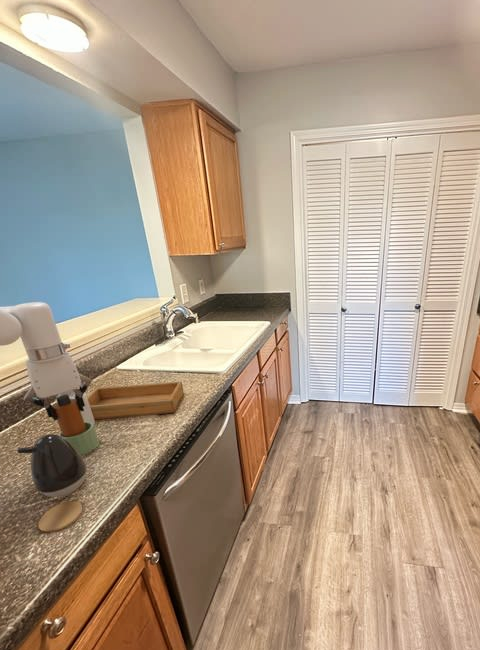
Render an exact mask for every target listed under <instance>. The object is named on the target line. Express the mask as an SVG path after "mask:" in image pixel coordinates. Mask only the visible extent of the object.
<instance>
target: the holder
mask: <svg viewBox="0 0 480 650" xmlns="http://www.w3.org/2000/svg"><path fill="white" fill-rule="evenodd" d="M84 423H85V426H86V429H87V431H86V432H84V433H82V434H79V435H77V436H73V437H63V435H62V432H61V430H60V431H59V432H58V433H57V435H58V436H60V437H62V438H63V439H65V440H66V441H67V442H69V443H70V444H71V445H72V446H73V447H74V448H75V449H76V450H77V452H78V453H79V454H80V456H84V455H86V454H89V453H91V452H92V451H93V450H94V451H95V449H97V448H98V446H99V445H100V439H99V435H98V433H97V429H96V428H95V427H96V426H95V424H94V425H93V423H92V422H88V421H87V422H84Z"/></svg>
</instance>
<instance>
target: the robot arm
mask: <svg viewBox="0 0 480 650" xmlns="http://www.w3.org/2000/svg"><path fill="white" fill-rule="evenodd" d="M19 339H21V342H22V345H23V348H24V350H25V352H26V355H27V358H28V359H27V360H25V366H26V372H27V375H28V379H29V381H30V385H31V386H30V387H29V389H28V391H27V392H26V394H25V395H24V396H23V401H24V402H25V403H30V404H34V405H36V406H39V407H41V408H44V409H45V411H46V414H47V416H48V418H49V419H50V418H52V419H53V421H57V417H56V414H55V411H54V409H53V407H52V406H53V405H52V403H51V398H52V397H54V396H59V395H58V394H61V393H64V392H68V391H71V390H73V391H74V393H75V399H76V400H77V403H78V406H79V409H80V411H84V409H83V407H84V406H85V404H84V401H83V398H82V397H83V394H84V393H85V394H86V391H87V390H88V388H89V387H90V385H91V384H92V382H93V380H92V379H91V378H89V377H87V376H85V375H83V374H81V373H79V371H78V369H77V366H76V364H75V362H74V359H73V358H72V356H71V355H70V353H69V352H68V351H67V349H70V348H71V344H70V343H69V342H63V341H62V338H61V336H60V332H59V329H58V327H57V324H56V321H55V318H54V315H53V311H52V309H51V307H50V305H49V304H47V303H46V302H43V301H33V302H32V301H31V302H25V303H20V304H19V303H18V304H16V305H8V306H0V346H1V347H2V346H8V345H11V344H14V343H15V342H17V341H18V340H19ZM78 388H79V389H78ZM34 395H36V397H37V398H36V397H34Z"/></svg>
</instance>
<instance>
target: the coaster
mask: <svg viewBox="0 0 480 650" xmlns="http://www.w3.org/2000/svg"><path fill="white" fill-rule="evenodd" d="M82 512H83V505H82V503H81V502H79V501H77V500H69V501H64V502H62V503H59V504H57V505H55V506H53V507H52V508H50V509H49V510H47V511H46V512H45V513H44V514H43V515H42V516H41V517H40V518H39V520H38V524H37V527H38V529H39V531H41V532H43V533H53V532H57V531H61V530H62V529H64V528H67V527H68V526H70V525H72V524H73V523H74V522H75V521H76V520H77V519H78V518H79V517H80V516H81V514H82Z"/></svg>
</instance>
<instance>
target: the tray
mask: <svg viewBox="0 0 480 650" xmlns="http://www.w3.org/2000/svg"><path fill="white" fill-rule="evenodd" d="M184 393H185V392H184V385H183V382H182V381H171V382H156V383H155V382H154V383H144V384H130V385H129V384H128V385H118V386H117V385H115V386H105V387H104V386H103V387H96V388H95V389H93V390H92V391H91V392H90V393H89V394H88V395H86V396H87V399H88V402H89V405H90V408H91V411H92V414H93V417H94V420H102V419H103V420H104V419H115V418H116V419H117V418H127V417H140V416H141V417H142V416H151V415H164V414H165V415H166V414H174V413H175V411H176V410H177V408H178V406H179V404H180V402H181V399H182V397H183V396H184Z"/></svg>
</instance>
